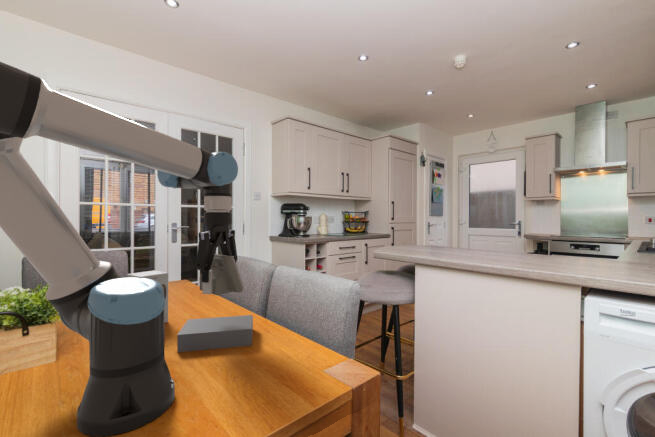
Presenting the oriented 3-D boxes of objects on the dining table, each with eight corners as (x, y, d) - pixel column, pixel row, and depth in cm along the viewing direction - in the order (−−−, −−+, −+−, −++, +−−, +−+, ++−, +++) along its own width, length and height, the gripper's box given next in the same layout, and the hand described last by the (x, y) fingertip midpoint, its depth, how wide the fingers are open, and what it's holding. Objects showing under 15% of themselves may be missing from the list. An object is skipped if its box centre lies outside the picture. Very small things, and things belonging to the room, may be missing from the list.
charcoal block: (251, 346, 83) (251, 328, 83) (177, 353, 79) (177, 334, 79) (252, 330, 95) (252, 314, 95) (188, 335, 90) (188, 319, 90)
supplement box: (138, 330, 93) (138, 277, 93) (125, 324, 99) (125, 273, 98) (169, 321, 101) (169, 272, 101) (155, 316, 106) (155, 269, 106)
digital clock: (246, 293, 83) (246, 255, 83) (213, 299, 78) (213, 258, 77) (224, 283, 96) (224, 250, 96) (194, 287, 90) (194, 252, 90)
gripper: (228, 212, 98) (228, 280, 98) (179, 211, 77) (179, 298, 77) (249, 211, 96) (249, 282, 96) (204, 211, 75) (204, 300, 75)
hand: (218, 289), depth 87 cm, fingers closed on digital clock, 9 cm apart
